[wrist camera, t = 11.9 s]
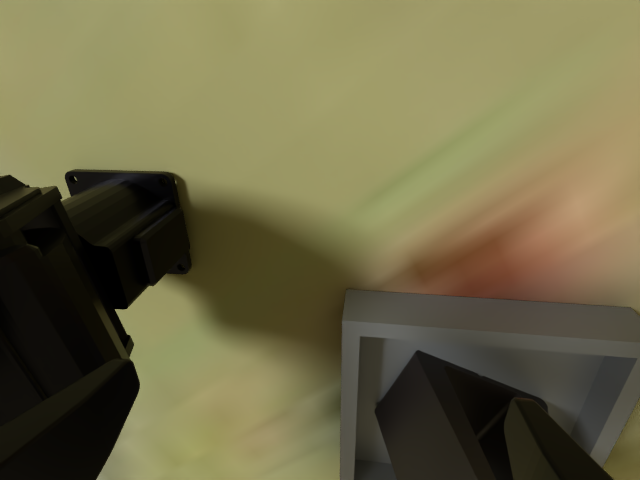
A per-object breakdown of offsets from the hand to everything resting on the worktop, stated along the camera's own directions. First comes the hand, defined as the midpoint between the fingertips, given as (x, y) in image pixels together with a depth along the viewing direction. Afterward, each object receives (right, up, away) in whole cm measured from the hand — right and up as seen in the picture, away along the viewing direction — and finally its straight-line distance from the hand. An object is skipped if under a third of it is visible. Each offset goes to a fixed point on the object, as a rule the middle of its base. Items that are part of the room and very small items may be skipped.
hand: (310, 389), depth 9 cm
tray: (+10, -7, +17) cm, 21 cm away
